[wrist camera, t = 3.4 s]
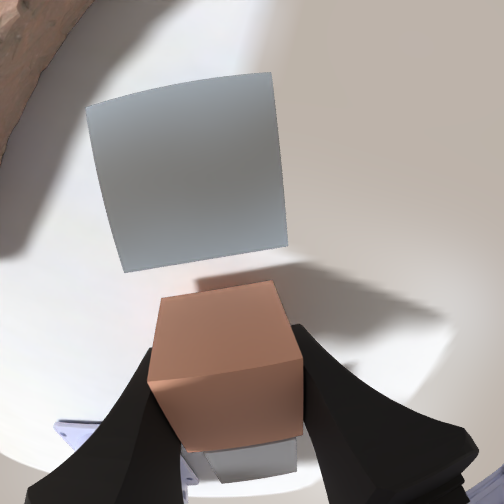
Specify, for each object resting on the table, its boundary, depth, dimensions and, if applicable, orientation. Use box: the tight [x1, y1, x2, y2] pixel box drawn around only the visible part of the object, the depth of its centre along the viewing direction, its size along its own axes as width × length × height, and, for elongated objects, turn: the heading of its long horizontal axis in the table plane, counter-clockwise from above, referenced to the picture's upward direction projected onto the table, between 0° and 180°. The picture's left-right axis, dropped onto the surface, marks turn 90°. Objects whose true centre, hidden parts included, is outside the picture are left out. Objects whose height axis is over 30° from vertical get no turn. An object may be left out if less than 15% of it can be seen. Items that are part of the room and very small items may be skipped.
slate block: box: [85, 72, 288, 273], centre depth 8 cm, size 4×4×4 cm
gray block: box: [204, 437, 297, 484], centre depth 14 cm, size 4×4×4 cm
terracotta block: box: [147, 280, 303, 453], centre depth 10 cm, size 4×4×4 cm
